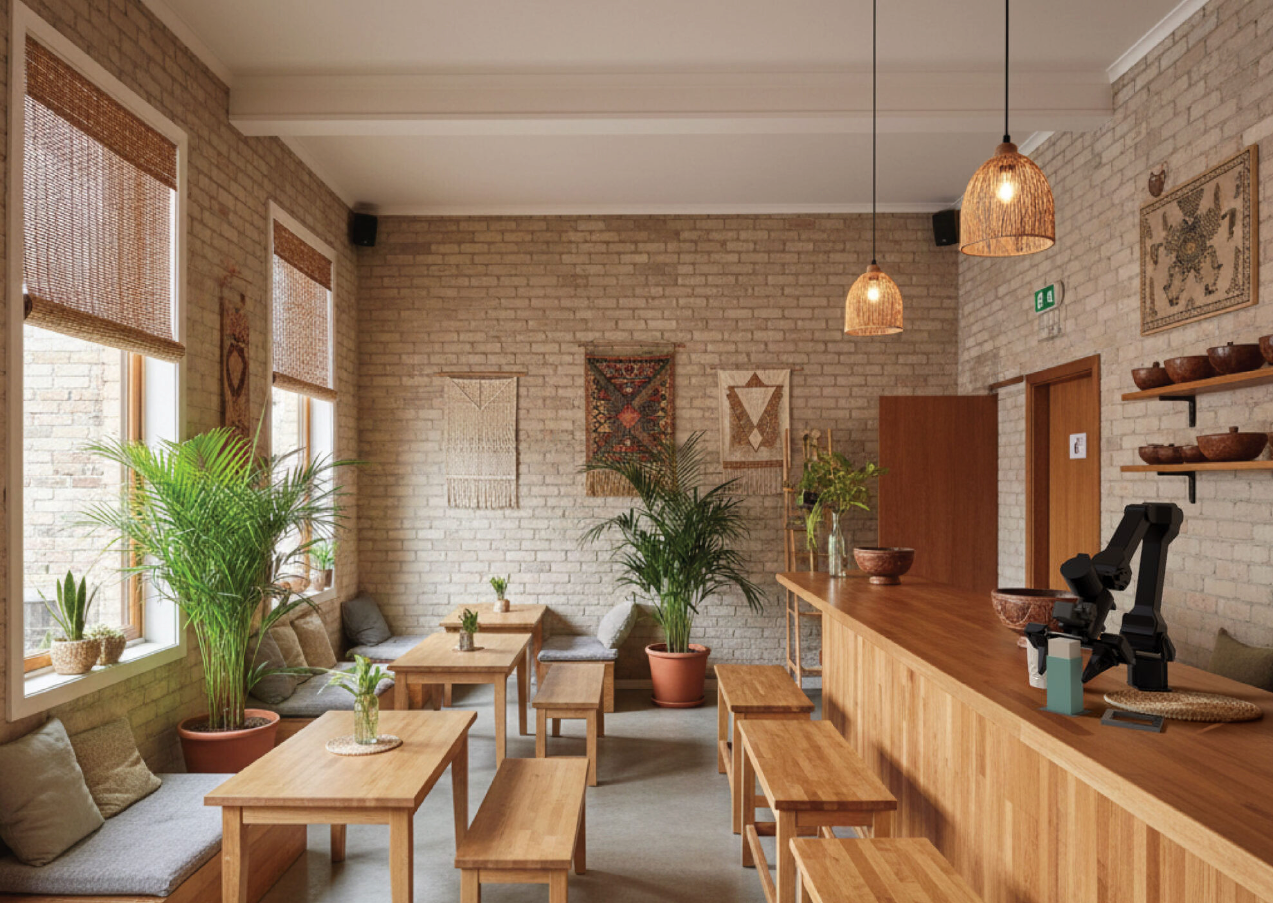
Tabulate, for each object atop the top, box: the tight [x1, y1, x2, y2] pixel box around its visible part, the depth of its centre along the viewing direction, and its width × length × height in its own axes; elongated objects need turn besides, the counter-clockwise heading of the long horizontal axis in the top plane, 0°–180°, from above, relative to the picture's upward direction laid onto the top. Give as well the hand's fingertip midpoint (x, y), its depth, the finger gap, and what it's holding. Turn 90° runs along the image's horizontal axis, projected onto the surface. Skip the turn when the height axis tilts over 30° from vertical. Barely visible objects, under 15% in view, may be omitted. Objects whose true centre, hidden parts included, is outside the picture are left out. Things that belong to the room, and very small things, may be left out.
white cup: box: [1025, 637, 1047, 690], centre depth 183 cm, size 8×8×10 cm
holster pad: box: [1038, 705, 1094, 718], centre depth 164 cm, size 7×7×1 cm
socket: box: [1100, 708, 1165, 734], centre depth 156 cm, size 12×12×1 cm
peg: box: [1046, 637, 1084, 715], centre depth 164 cm, size 4×4×13 cm
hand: (1060, 678), depth 163 cm, fingers open, 8 cm apart
